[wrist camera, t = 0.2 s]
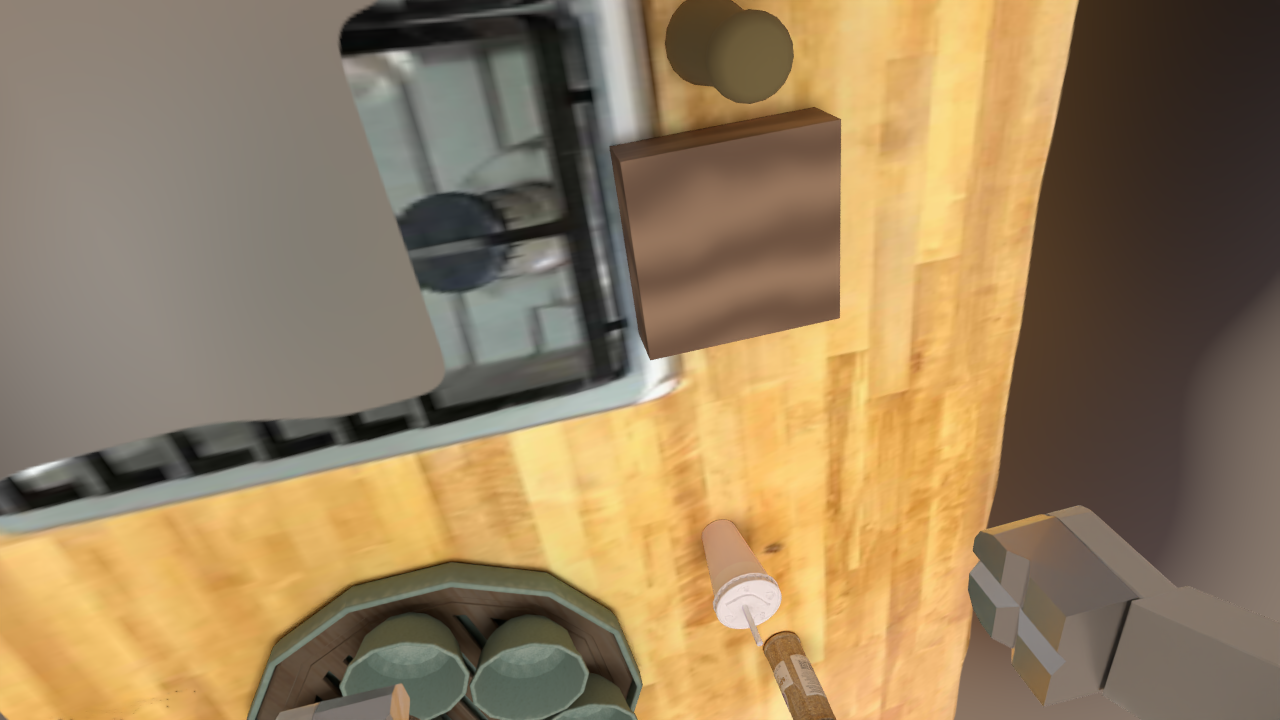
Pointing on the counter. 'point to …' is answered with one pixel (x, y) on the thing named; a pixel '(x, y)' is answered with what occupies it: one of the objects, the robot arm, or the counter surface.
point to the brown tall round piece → (729, 49)
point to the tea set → (460, 649)
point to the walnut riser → (732, 229)
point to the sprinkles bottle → (797, 678)
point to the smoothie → (738, 579)
